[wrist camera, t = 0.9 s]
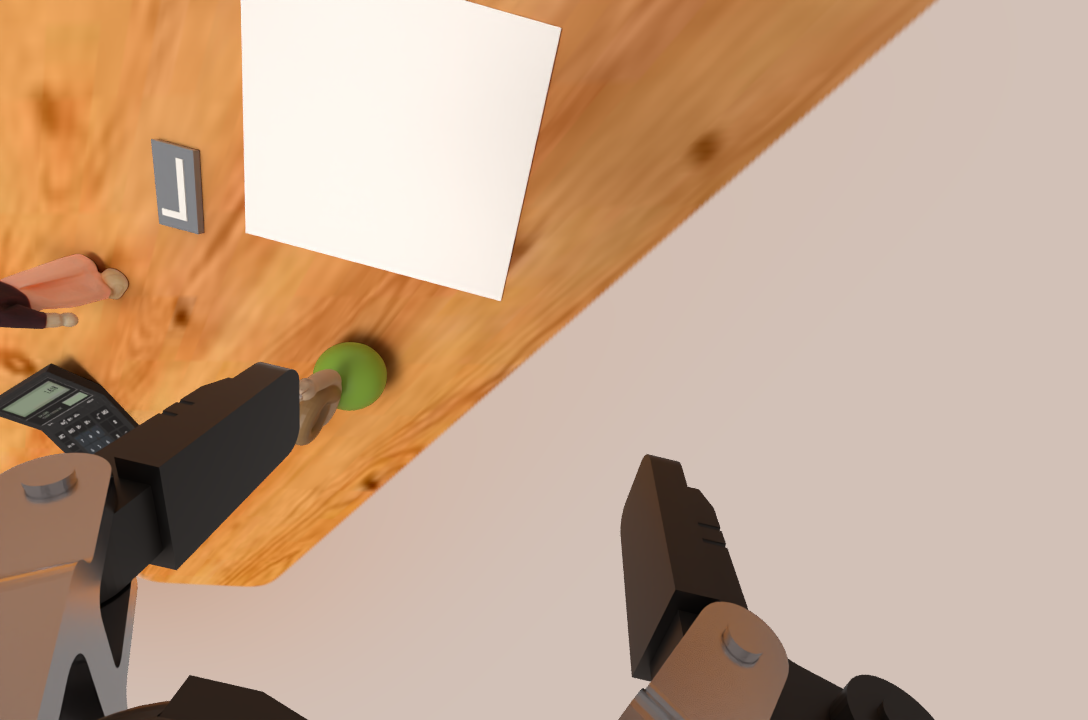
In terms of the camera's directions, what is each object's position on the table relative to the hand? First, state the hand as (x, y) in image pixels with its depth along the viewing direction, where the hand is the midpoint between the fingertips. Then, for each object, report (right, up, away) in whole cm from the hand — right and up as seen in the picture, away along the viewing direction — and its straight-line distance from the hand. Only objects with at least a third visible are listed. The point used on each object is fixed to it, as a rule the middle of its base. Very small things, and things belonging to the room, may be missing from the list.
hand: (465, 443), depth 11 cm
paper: (-9, +17, +22) cm, 29 cm away
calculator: (-42, -4, +35) cm, 55 cm away
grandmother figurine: (-35, +9, +28) cm, 46 cm away
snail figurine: (-13, +2, +29) cm, 32 cm away
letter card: (-25, +15, +24) cm, 38 cm away
